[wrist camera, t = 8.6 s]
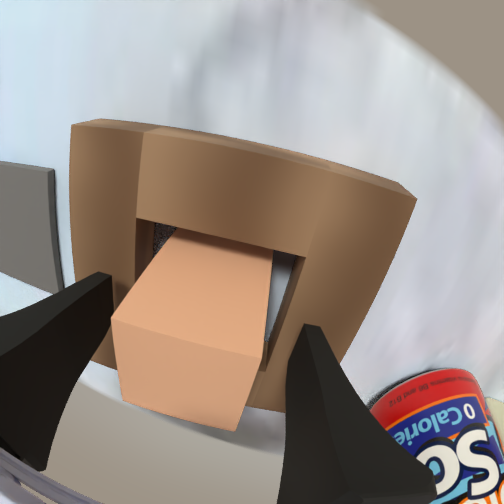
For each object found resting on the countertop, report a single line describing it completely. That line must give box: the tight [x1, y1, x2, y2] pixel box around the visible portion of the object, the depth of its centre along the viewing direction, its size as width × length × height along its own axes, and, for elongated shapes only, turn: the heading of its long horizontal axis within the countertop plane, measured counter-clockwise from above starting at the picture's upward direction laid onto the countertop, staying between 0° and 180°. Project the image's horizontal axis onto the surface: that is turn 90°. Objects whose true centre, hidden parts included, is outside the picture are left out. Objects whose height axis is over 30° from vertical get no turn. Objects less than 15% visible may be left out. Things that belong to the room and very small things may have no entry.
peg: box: [111, 227, 273, 432], centre depth 11 cm, size 4×4×6 cm
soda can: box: [370, 368, 504, 504], centre depth 10 cm, size 8×8×15 cm
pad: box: [0, 161, 64, 294], centre depth 13 cm, size 7×7×1 cm
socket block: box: [69, 119, 417, 413], centre depth 13 cm, size 12×12×2 cm
